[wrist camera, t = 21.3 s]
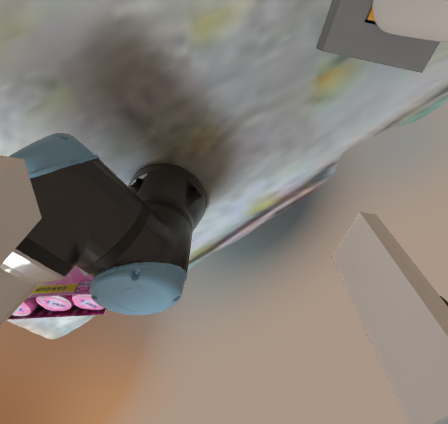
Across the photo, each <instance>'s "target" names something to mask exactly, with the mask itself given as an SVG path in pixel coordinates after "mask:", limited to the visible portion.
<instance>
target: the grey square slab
mask: <svg viewBox="0 0 448 424" xmlns="http://www.w3.org/2000/svg"><path fill="white" fill-rule="evenodd" d="M372 2H373V0H333V1H332V4H331V7H330V10H329V13H328V16H327V18H326V21H325V24H324V27H323V30H322V33H321V36H320V39H319V42H318V45H317V49H319V50H322V51H325V52H329V53H334V54H339V55H343V56H348V57H352V58H357V59H362V60H366V61H371V62H375V63H380V64H385V65H389V66H394V67H398V68H403V69H408V70H412V71H417V72H421V73H422V72H423V70H424V68H425V67H426V65H427V63H428V61H429V60H430V58H431V56H432V55H433V53H434V51H435V49H436V48H437V46H438V44H439V43H440V41H432V40H425V39H418V38H412V37H406V36H400V35H394V34H390V33H387V32H384V31H383V30H381V29H380V28H379V27H378V25H375V24H371V23H366V22H364V21H365V19H366V17H367V14H368V12H369V9H370V7H371V5H372Z"/></svg>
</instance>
